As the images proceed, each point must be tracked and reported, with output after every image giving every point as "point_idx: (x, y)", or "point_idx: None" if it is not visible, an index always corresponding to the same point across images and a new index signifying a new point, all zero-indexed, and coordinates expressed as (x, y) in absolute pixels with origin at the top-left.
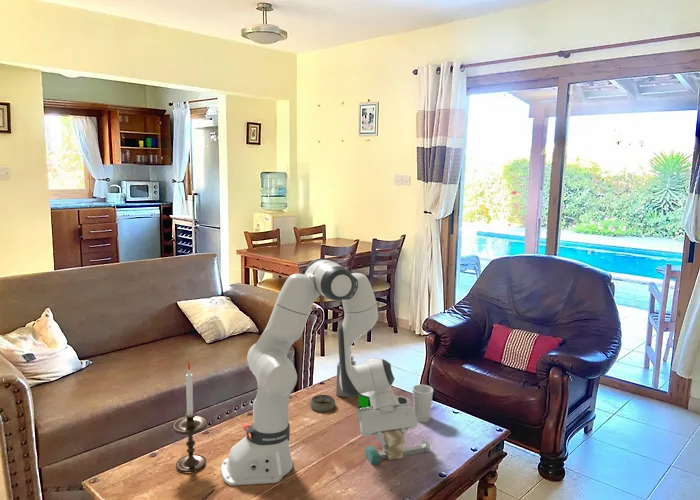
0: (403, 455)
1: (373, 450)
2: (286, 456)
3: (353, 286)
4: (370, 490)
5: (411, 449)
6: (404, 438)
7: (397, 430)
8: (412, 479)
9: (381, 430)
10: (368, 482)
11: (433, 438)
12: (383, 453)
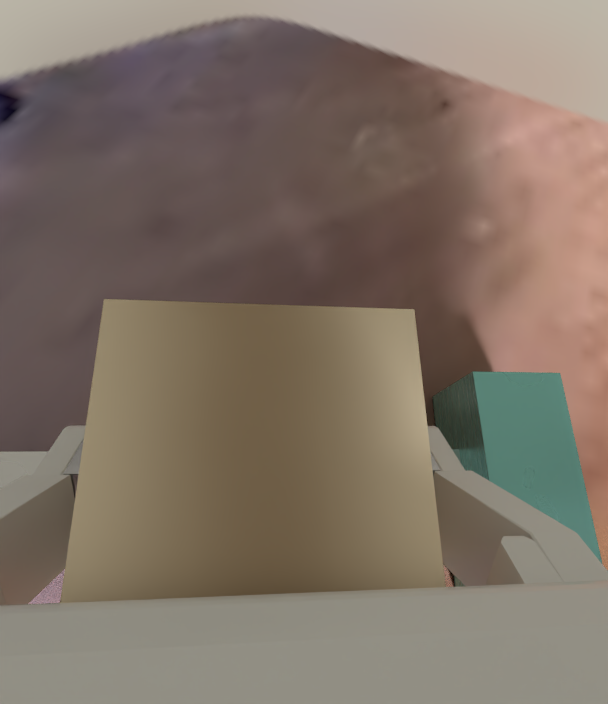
0: None
1: (523, 487)
2: None
3: None
4: (569, 140)
5: (6, 465)
6: (42, 460)
7: (97, 588)
8: (251, 136)
9: (578, 584)
10: (570, 209)
11: None
12: None
